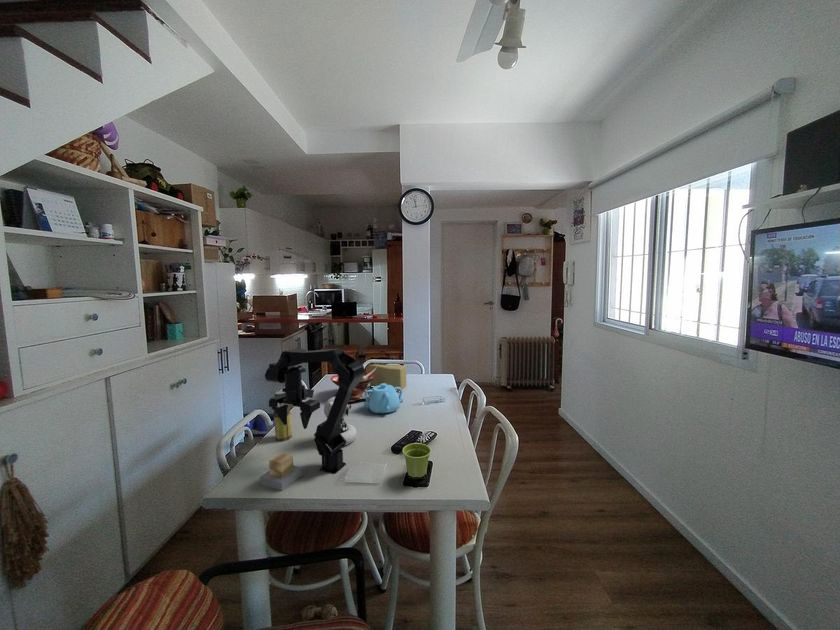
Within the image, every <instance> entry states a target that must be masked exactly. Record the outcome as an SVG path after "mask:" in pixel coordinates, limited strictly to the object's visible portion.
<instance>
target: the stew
mask: <svg viewBox="0 0 840 630" xmlns="http://www.w3.org/2000/svg"><path fill="white" fill-rule="evenodd" d="M377 368H379V367H378V366H377V367H376V368H375V369H374V370H373V371H372V372H371V373H370V372H365V374H364V376H363V378H362V379H361V381H360V382H359V383H358V385H357V386H356V387H355V388H354V389H353V392H352V394H351V397H350V399H349V402H355V401H358V400H363V401H366V400H365V397H363V394H364V393H365V392H366V391H367V390H371V389H370V388H368V386H370V382H371V381H372V379H373V377H374V376H373V374H372V373H373V372H374V371H375V370H376V369H377ZM330 381H332V383H333V384H335V386H338V387H339V383H338V375H337V374H336V375H333V376H331V378H330ZM368 393H370V392H368ZM336 394H337V392H336V393H334V395H333V397H335V396H336ZM360 398H361V399H360ZM367 399H369V395H368V396H367Z"/></svg>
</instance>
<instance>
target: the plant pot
mask: <svg viewBox="0 0 840 630" xmlns="http://www.w3.org/2000/svg"><path fill="white" fill-rule="evenodd" d="M431 453H432V449H431V447H430V446H429V445H427V444H424V443H419V442H415V443H409V444H407V445H405V446H404V447H403V448H402V454H403V455H404V458H405V465H406V473H408V474H407V476H408V475H409V476H411V477H422V476H424V475H425V474H426V475H427V471H428V470H427V469H428V464H429V459H430V455H431Z"/></svg>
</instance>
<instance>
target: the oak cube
mask: <svg viewBox="0 0 840 630" xmlns="http://www.w3.org/2000/svg"><path fill="white" fill-rule="evenodd" d="M293 465H294V455H293V454H289V453H285V452H279V453H278V454H276V455H274V456H273V457H271V458H270V459H269V460H268V466H269V469H268V470H270V475H272V476H276V477H280V478H283V477H284V476H286V475H287V474H288V473H290V472H291V471H292V470H294V469H293Z"/></svg>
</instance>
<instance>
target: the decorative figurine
mask: <svg viewBox="0 0 840 630" xmlns="http://www.w3.org/2000/svg"><path fill="white" fill-rule="evenodd" d="M334 399H335V397H334V396H332V397H331V398H330V397H329V398H328V400H326V402H325V403H324V405H323V411H324V412H323V414H324V415H325V417H326V418H327V417H328V415H329V412H330V410H331V407H332V404H333V402H334ZM351 409H352V404H349V405H348V404H347V407H346V409H345V412H344V414H343V417H342V420H341V422H340V427H341V432H340V434H341V435H342V436H343V437H344V439H345V440H346V445H345V446H348V445H349V444H351V443H352V442H354V440H355V439H356V438H357V434H358V433H357V429H356V427H355V426H354V425H352V424H350V423H347V422H346V420H345V417H348V416H349V411H350V410H351Z"/></svg>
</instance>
